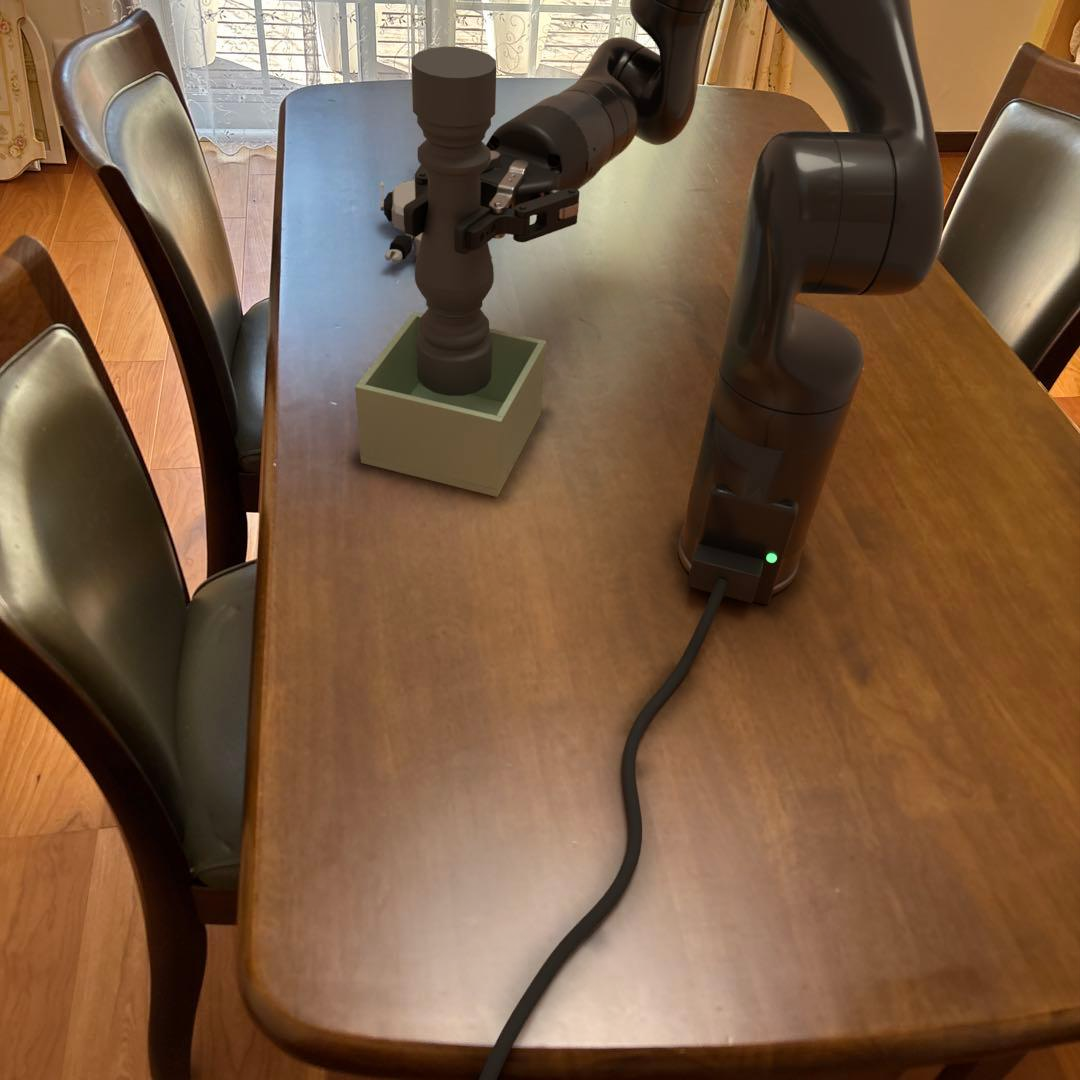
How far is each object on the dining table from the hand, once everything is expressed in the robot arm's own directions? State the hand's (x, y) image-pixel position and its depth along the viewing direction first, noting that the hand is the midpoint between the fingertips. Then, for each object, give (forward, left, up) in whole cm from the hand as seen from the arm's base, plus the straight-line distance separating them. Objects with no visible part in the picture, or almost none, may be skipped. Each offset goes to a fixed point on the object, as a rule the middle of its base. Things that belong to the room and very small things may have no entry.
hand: (434, 232), depth 74 cm
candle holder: (+3, -1, -14) cm, 14 cm away
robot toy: (+35, +13, -21) cm, 42 cm away
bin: (+3, -1, -20) cm, 21 cm away
